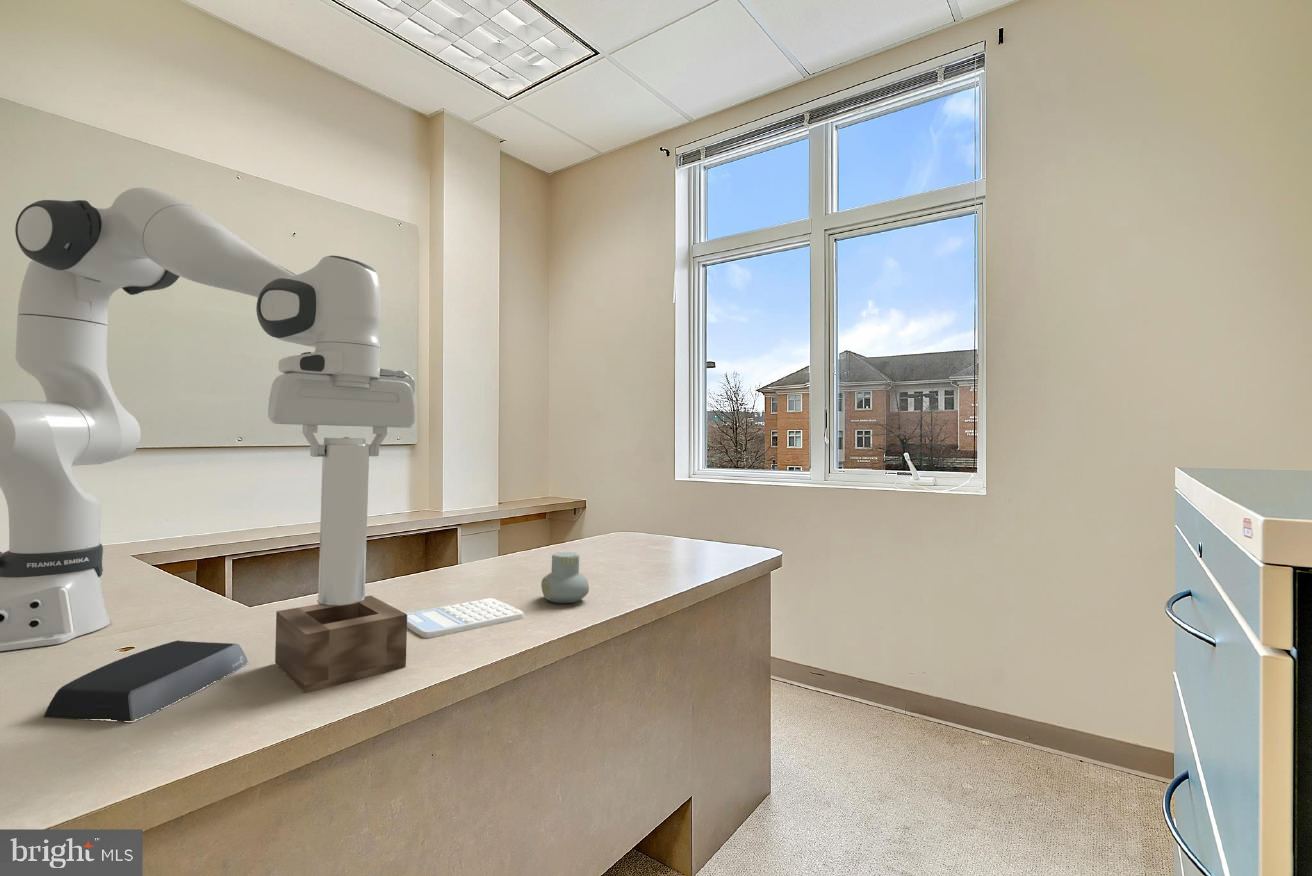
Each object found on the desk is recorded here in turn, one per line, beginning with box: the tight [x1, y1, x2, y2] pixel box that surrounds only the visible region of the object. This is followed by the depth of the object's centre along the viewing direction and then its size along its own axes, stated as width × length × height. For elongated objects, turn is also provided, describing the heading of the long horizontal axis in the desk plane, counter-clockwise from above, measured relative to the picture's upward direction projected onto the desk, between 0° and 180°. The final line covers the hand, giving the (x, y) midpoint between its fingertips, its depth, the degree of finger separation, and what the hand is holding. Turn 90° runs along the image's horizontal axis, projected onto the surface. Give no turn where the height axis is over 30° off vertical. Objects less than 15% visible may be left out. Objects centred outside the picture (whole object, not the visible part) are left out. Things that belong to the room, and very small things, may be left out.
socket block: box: [274, 595, 408, 693], centre depth 93 cm, size 14×14×8 cm
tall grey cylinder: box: [316, 436, 370, 606], centre depth 93 cm, size 6×6×25 cm
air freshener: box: [540, 551, 590, 604], centre depth 132 cm, size 11×8×10 cm
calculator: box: [404, 597, 525, 639], centre depth 117 cm, size 13×20×2 cm, turn 133°
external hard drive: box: [43, 639, 249, 721], centre depth 84 cm, size 13×19×4 cm
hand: (345, 456), depth 93 cm, fingers closed on tall grey cylinder, 6 cm apart
